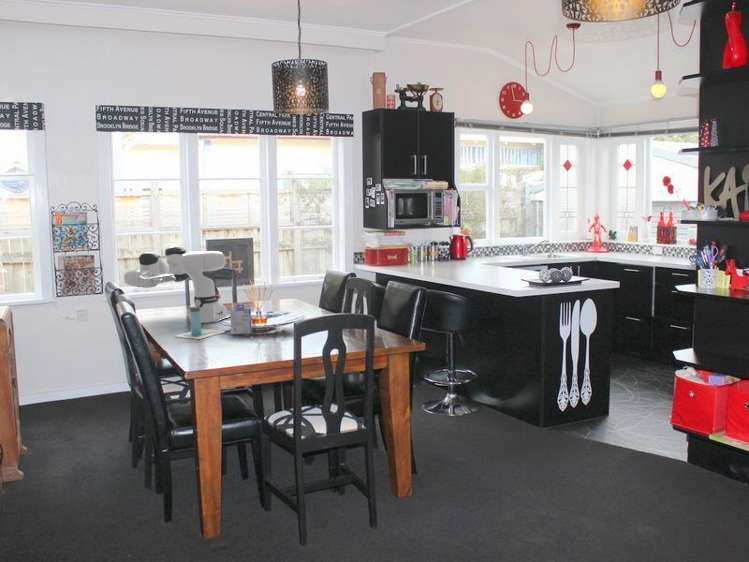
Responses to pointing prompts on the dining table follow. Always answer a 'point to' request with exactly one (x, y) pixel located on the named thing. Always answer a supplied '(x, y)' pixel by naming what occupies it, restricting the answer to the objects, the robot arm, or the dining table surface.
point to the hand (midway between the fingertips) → (168, 279)
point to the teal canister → (195, 320)
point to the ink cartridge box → (240, 320)
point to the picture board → (204, 334)
